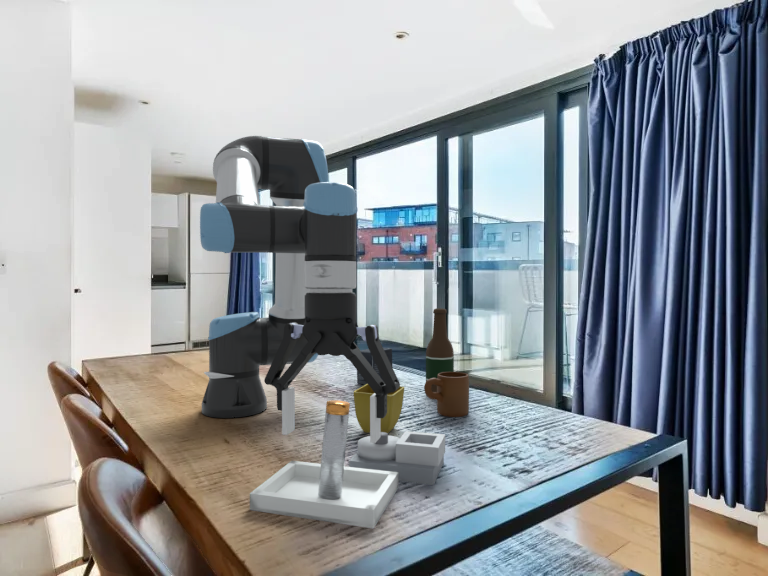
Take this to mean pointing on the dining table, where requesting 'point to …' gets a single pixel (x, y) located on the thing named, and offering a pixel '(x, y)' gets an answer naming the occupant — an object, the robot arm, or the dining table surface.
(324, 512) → the tray
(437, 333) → the beer bottle
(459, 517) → the dining table surface
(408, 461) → the tensioner block
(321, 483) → the pin
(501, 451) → the dining table surface
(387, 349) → the box
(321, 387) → the dining table surface
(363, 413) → the flower pot
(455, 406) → the mug
